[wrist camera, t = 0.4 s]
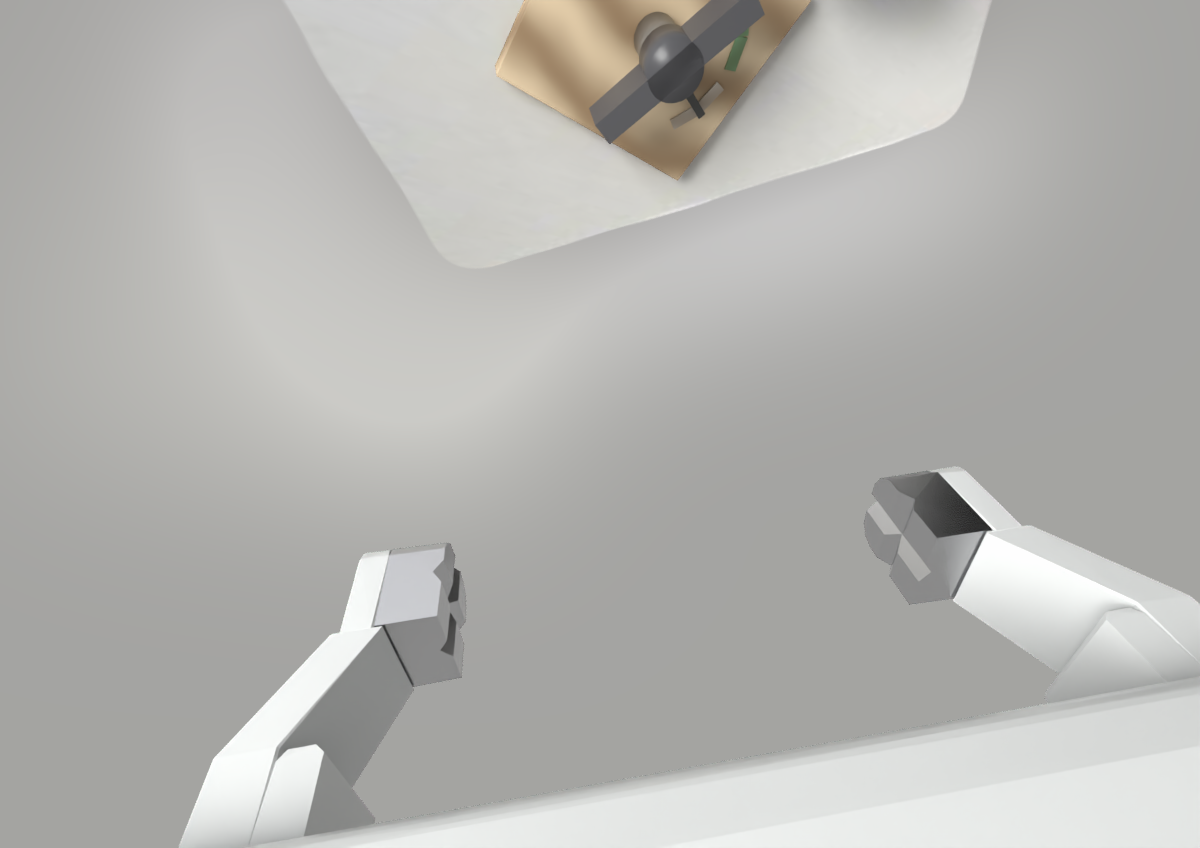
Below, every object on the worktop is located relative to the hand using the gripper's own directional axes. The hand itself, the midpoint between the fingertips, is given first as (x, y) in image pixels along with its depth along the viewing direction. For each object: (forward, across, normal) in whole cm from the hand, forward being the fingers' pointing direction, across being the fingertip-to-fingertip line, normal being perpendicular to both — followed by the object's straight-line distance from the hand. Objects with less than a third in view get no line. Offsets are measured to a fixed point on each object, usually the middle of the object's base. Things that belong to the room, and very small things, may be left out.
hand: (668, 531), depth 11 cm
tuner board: (+50, -10, -6) cm, 52 cm away
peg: (+49, -12, -3) cm, 50 cm away
